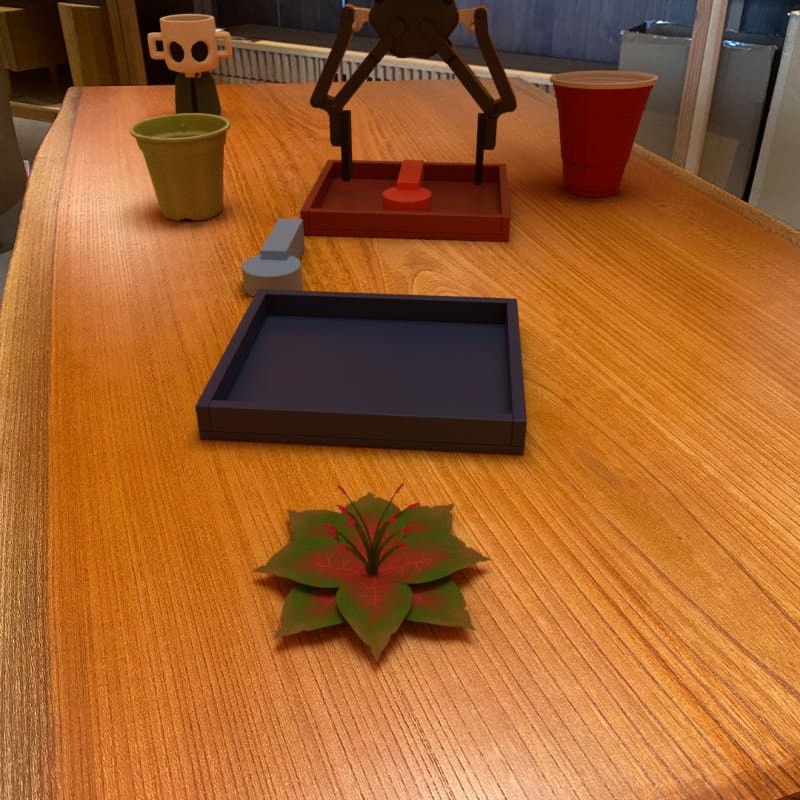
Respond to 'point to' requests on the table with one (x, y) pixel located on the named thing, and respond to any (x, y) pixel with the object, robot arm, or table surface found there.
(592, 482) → the table surface
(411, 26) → the robot arm
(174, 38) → the pink mug head figurine
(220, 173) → the plant pot
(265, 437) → the navy tray
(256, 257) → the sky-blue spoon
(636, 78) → the plastic cup
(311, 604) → the lily flower
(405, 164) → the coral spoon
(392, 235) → the brick tray
